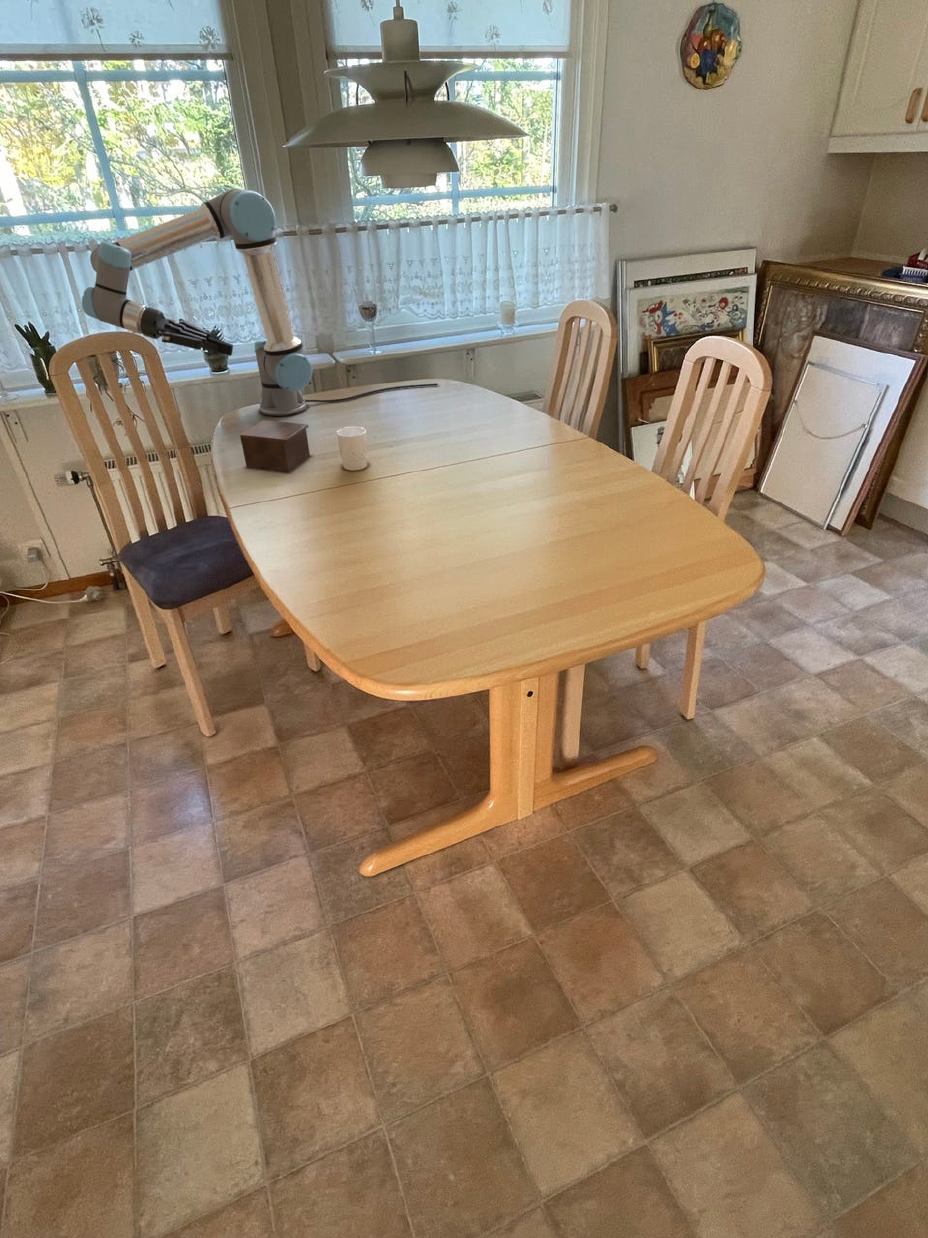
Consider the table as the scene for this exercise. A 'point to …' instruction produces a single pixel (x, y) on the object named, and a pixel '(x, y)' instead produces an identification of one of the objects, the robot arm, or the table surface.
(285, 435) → the lid
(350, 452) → the white cup
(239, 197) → the robot arm
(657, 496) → the table surface
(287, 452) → the tea box
